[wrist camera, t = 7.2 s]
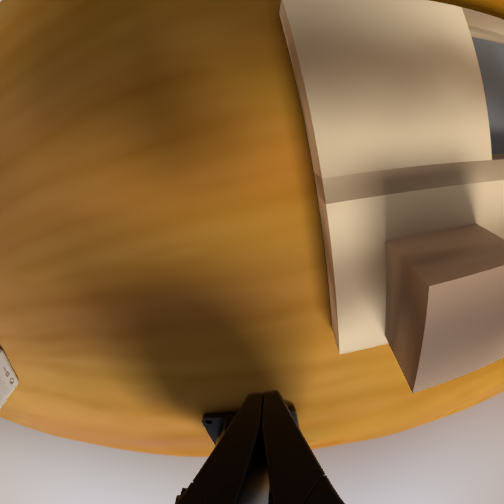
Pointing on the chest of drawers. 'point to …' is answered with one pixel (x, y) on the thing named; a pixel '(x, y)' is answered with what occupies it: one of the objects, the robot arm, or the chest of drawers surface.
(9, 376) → the skincare box
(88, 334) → the chest of drawers surface
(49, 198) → the chest of drawers surface
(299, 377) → the chest of drawers surface
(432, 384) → the walnut block
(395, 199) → the board
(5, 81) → the chest of drawers surface
